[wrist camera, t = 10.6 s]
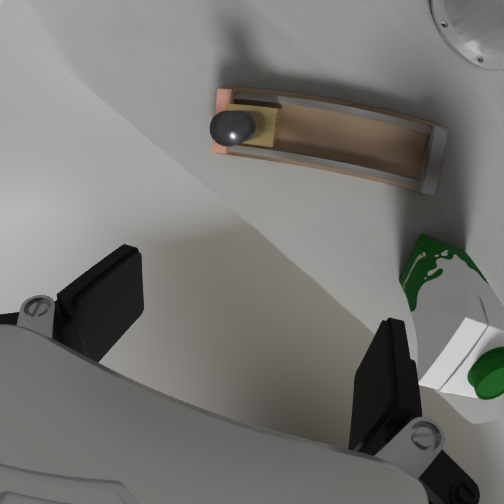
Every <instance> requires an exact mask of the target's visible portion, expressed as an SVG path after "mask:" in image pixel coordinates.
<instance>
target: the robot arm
mask: <svg viewBox="0 0 504 504" xmlns="http://www.w3.org/2000/svg"><path fill="white" fill-rule="evenodd" d="M431 10H432V16H433V19H434V21H435V24H436V26H437V28H438V30H439V32H440V34H441V35H442V37H443V38H444V39H445V41H446V42H447V43H448V44H449V46H450V47H451V48H452V49H453V50H454V51H455V52H456V53H458V54H459V55H460V56H461V57H462V58H464V59H465V60H467V61H468V62H470V63H472V64H474V65H476V66H478V67H481V68H485V69H491V70H497V69H503V68H504V0H431ZM441 24H442V25H444V27H443V26H442V25H441ZM477 58H478V59H479V61H478V60H477ZM143 310H144V298H143V281H142V257H141V253H140V252H139V251H138V249H137V248H136V247H133V246H129V245H126V244H124V245H122V246H120V247H119V248H118V249H116V250H115V251H113V252H112V253H111V254H109V255H108V256H106V257H105V258H104V259H102V260H101V261H100V262H98V263H97V264H96V265H94V266H93V267H92V268H90V269H89V270H88V271H86V272H85V273H84V274H82V275H81V276H80V277H78V278H77V279H76V280H74V281H73V282H72V283H71V284H69V285H68V286H67V287H65V288H64V289H63V290H62V291H60V292H59V293H58V294H57V300H56V301H55V302H54V300H53V299H52V298H50V297H49V296H45V295H37V296H33V297H31V298H29V299H27V300H26V301H25V302H24V303H23V304H22V306H21V308H20V312H17V313H16V312H15V313H8V314H0V504H478V503H479V498H480V493H479V489H478V486H477V484H476V483H475V482H474V481H473V480H472V479H471V478H470V477H469V476H468V475H467V474H466V473H465V472H464V471H463V470H462V469H461V468H460V467H459V466H458V465H457V464H456V463H455V462H454V461H453V460H452V459H451V458H450V457H449V456H448V455H447V454H446V453H445V452H444V451H443V450H442V448H443V446H444V444H445V435H444V432H443V430H442V428H441V427H440V425H438V423H437V422H435V421H434V420H432V419H430V418H427V417H422V408H421V399H420V391H419V383H418V376H417V369H416V363H415V361H414V360H411V359H410V353H409V347H408V341H407V335H406V329H405V323H404V321H402V320H398V319H394V318H388V319H387V321H385V320H383V321H382V322H381V324H380V326H379V328H378V330H377V332H376V334H375V336H374V338H373V340H372V342H371V344H370V346H369V348H368V350H367V352H366V354H365V356H364V358H363V360H362V362H361V364H360V366H359V368H358V370H357V371H356V375H355V379H354V393H353V407H352V408H353V409H352V419H351V429H350V440H349V448H348V449H345V448H341V447H336V446H332V445H327V444H322V443H318V442H313V441H309V440H306V439H302V438H297V437H293V436H290V435H286V434H282V433H278V432H275V431H271V430H267V429H264V428H261V427H257V426H254V425H250V424H247V423H244V422H241V421H238V420H235V419H231V418H229V417H226V416H223V415H220V414H217V413H214V412H211V411H208V410H205V409H203V408H200V407H197V406H194V405H192V404H189V403H187V402H184V401H182V400H179V399H177V398H174V397H171V396H169V395H167V394H164V393H162V392H160V391H157V390H155V389H153V388H150V387H148V386H146V385H143V384H141V383H139V382H137V381H134V380H132V379H130V378H128V377H126V376H124V375H122V374H120V373H117V372H115V371H113V370H111V369H109V368H107V367H105V366H103V365H101V364H99V363H98V362H99V361H100V360H101V359H102V358H103V356H104V355H105V354H106V353H107V352H108V351H109V350H110V349H111V348H112V346H113V345H114V344H115V343H116V342H117V341H118V339H120V338H121V336H122V335H123V334H124V333H125V332H126V330H128V329H129V328H130V326H131V325H132V324H133V323H134V322H135V321H136V320H137V319H138V318H139V317H140V315H141V314H142V312H143Z"/></svg>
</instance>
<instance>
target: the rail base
mask: <svg viewBox="0 0 504 504" xmlns="http://www.w3.org/2000/svg"><path fill="white" fill-rule="evenodd" d="M229 104H241V105H252V106H262V107H270V108H279V109H282V115H281V124H280V132H279V140H278V145H276V146H274V147H267V146H260V145H253V144H245V143H240V144H237V145H234V146H229V147H226V146H222V145H219V144H218V143H216V142H215V141H214V139H213V145H212V152H213V153H219V154H227V155H235V156H242V157H249V158H256V159H263V160H269V161H276V162H282V163H288V164H294V165H299V166H305V167H311V168H316V169H321V170H326V171H331V172H336V173H341V174H346V175H351V176H355V177H360V178H365V179H369V180H373V181H378V182H382V183H386V184H390V185H394V186H398V187H402V188H406V189H410V190H414V191H418V192H421V193H424V194H428V195H431V196H434V195H435V191H436V187H437V183H438V179H439V175H440V170H441V166H442V161H443V156H444V151H445V146H446V140H447V135H448V130H446V127H445V126H442V125H439V124H436V123H432V122H429V121H426V120H422V119H419V118H415V117H412V116H408V115H404V114H401V113H397V112H393V111H389V110H385V109H381V108H376V107H372V106H368V105H363V104H358V103H353V102H348V101H343V100H338V99H332V98H326V97H320V96H314V95H307V94H300V93H293V92H285V91H276V90H267V89H256V88H243V87H228V86H223V89H217V99H216V109H215V115H216V114H218V113H219V112H222V111H226V110H228V105H229Z"/></svg>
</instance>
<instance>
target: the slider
mask: <svg viewBox="0 0 504 504" xmlns="http://www.w3.org/2000/svg"><path fill="white" fill-rule="evenodd" d="M281 115H282V109H279V108H270V107H262V106H252V105H241V104H229V105H228V110H226V111H222V112H219V113H218V114H216V115H215V116H214V117H213V119H212V121H211V124H210V133H211V136H212V138H213V139H214V141H215V142H216V143H218V144H219V145H222V146H226V147H229V146H234V145H237V144H240V143H245V144H253V145H260V146H267V147H274V146H276V145H278V140H279V132H280V124H281Z"/></svg>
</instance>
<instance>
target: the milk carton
mask: <svg viewBox="0 0 504 504" xmlns="http://www.w3.org/2000/svg"><path fill="white" fill-rule="evenodd" d="M399 282H400V284H401V286H402V288H403V290H404V293H405V295H406V297H407V300H408V304H409V307H410V311H411V315H412V319H413V323H414V327H415V332H416V336H417V347H418V371H417V376H418V383H419V385H422V386H426V387H431V388H435V389H438V390H439V391H441V392H445V393H453V394H459V395H464V396H469V397H475V398H479V399H482V400H490V399H494V398H496V397H498V396H500V395H502V394H503V393H504V306H503V305H502V304H501V302H500V300H499V299H498V297H497V296H496V294H495V293H494V291H493V290H492V288H491V287H490V285H489V284H488V282H487V281H486V279H485V278H484V276H483V275H482V273H481V272H480V270H479V269H478V268H477V266H476V265H475V264H474V262H473V261H472V259H471V258H470V257H469V256H468V254H467V253H466V252H464V251H462V250H460V249H457V248H455V247H453V246H450V245H448V244H446V243H443V242H441V241H438V240H436V239H434V238H431V237H429V236H426V235H424V234H421V235H420V237H419V240H418V242H417V244H416V246H415V248H414V251H413V253H412V255H411V257H410V259H409V261H408V263H407V265H406V267H405V270H404V272H403V274H402V276H401V278H400V280H399Z"/></svg>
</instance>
